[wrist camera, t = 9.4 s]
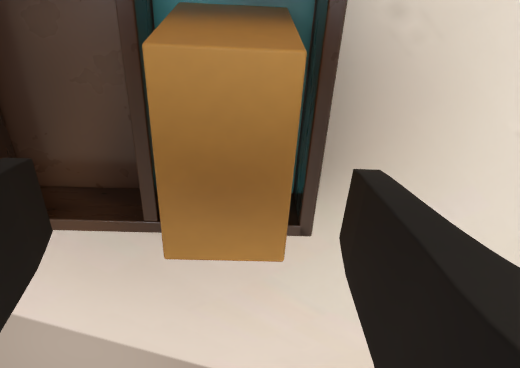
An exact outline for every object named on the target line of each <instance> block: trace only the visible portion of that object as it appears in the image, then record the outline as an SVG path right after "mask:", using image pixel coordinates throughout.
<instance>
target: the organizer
mask: <svg viewBox="0 0 520 368" xmlns="http://www.w3.org/2000/svg"><path fill="white" fill-rule="evenodd" d="M179 2H184V3H204V4H224V5H244V6H263V7H283V8H288V11H289V13H290V15H291V18H292V20H293V22H294V24H295V27H296V29H297V31H298V33H299V36H300V38H301V40H302V42H303V45H304V47H305V49H306V52H307V56H306V65H305V74H304V83H303V92H302V101H301V110H300V119H299V128H298V137H297V146H296V155H295V164H294V173H293V182H292V191H291V200H290V209H289V218H288V227H287V236H311V234H312V228H313V221H314V214H315V208H316V201H317V195H318V188H319V182H320V175H321V169H322V162H323V156H324V149H325V143H326V136H327V130H328V123H329V117H330V110H331V104H332V97H333V91H334V84H335V78H336V71H337V65H338V58H339V52H340V45H341V39H342V32H343V26H344V19H345V13H346V6H347V0H0V159H1V158H29V159H32V161H33V164H34V168H35V171H36V175H37V178H38V182H39V185H40V188H41V192H42V195H43V199H44V202H45V206H46V209H47V213H48V216H49V220H50V223H51V227H52V230H78V231H118V232H158V233H162V232H161V222H160V213H159V203H158V194H157V184H156V174H155V165H154V155H153V146H152V136H151V126H150V117H149V107H148V98H147V88H146V79H145V69H144V59H143V50H142V44H143V42H144V41H145V40H146V39H147V38H148V37H149V36H150V35H151V33H152V32H153V31H154V30H155V29H156V28H157V27H158V26H159V24H160V23H161V22H162V21H163V20H164V19H165V18H166V17H167V15H168V14H169V13H170V12H171V11H172V10H173V9H174V7H175V6H176V5H177V4H178V3H179Z"/></svg>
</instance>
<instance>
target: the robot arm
mask: <svg viewBox="0 0 520 368" xmlns="http://www.w3.org/2000/svg"><path fill="white" fill-rule="evenodd" d="M52 232H53V230H52V227H51V223H50V220H49V216H48V213H47V209H46V206H45V202H44V199H43V195H42V192H41V188H40V185H39V182H38V178H37V175H36V171H35V168H34V164H33V161H32V159H29V158H1V159H0V332H1V330H2V328H3V327H4V325H5V323H6V322H7V320H8V318H9V317H10V315H11V313H12V312H13V310H14V308H15V307H16V305H17V303H18V302H19V300H20V298H21V297H22V295H23V293H24V291H25V290H26V288H27V286H28V285H29V283H30V281H31V279H32V278H33V276H34V274H35V272H36V271H37V269H38V266H39V264H40V262H41V259H42V257H43V255H44V252H45V250H46V247H47V245H48V242H49V239H50V237H51V234H52ZM339 239H340V245H341V251H342V258H343V263H344V268H345V274H346V278H347V281H348V284H349V288H350V291H351V294H352V297H353V300H354V304H355V307H356V310H357V313H358V316H359V319H360V322H361V326H362V329H363V332H364V335H365V338H366V341H367V344H368V348H369V351H370V354H371V357H372V360H373V363H374V367H375V368H520V268H519V267H518V266H516V265H514V264H513V263H511V262H509V261H508V260H506V259H504V258H503V257H501V256H499V255H498V254H496V253H495V252H493V251H492V250H490V249H489V248H487V247H486V246H484V245H483V244H481V243H480V242H478V241H477V240H475V239H474V238H472V237H471V236H469V235H468V234H466V233H465V232H463V231H462V230H460V229H459V228H458V227H456V226H455V225H453V224H452V223H451V222H449V221H448V220H447V219H445V218H444V217H442V216H441V215H440V214H438V213H437V212H436V211H434V210H433V209H432V208H430V207H429V206H428V205H426V204H425V203H424V202H423V201H421V200H420V199H419V198H417V197H416V196H415V195H413V194H412V193H411V192H410V191H408V190H407V189H406V188H404V187H403V186H402V185H400V184H399V183H398V182H397V181H395V180H394V179H392V178H391V177H390V176H388V175H387V174H385V173H384V172H382V171H381V170H366V169H353V174H352V179H351V184H350V189H349V194H348V198H347V203H346V208H345V213H344V218H343V223H342V228H341V232H340V237H339Z"/></svg>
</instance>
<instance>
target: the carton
mask: <svg viewBox="0 0 520 368" xmlns="http://www.w3.org/2000/svg"><path fill="white" fill-rule="evenodd" d="M142 50H143V59H144V69H145V79H146V88H147V98H148V107H149V117H150V126H151V136H152V146H153V155H154V165H155V174H156V184H157V194H158V203H159V213H160V222H161V232H162V242H163V251H164V258H165V259H186V260H232V261H277V262H282V261H283V260H284V254H285V245H286V236H287V227H288V218H289V209H290V200H291V191H292V182H293V173H294V164H295V155H296V146H297V137H298V128H299V119H300V110H301V101H302V92H303V83H304V74H305V65H306V56H307V52H306V49H305V47H304V45H303V42H302V40H301V38H300V36H299V33H298V31H297V29H296V27H295V24H294V22H293V20H292V18H291V15H290V13H289V11H288V8H283V7H263V6H244V5H224V4H204V3H184V2H179V3H178V4H177V5H176V6H175V7H174V9H173V10H172V11H171V12H170V13H169V14H168V15H167V17H166V18H165V19H164V20H163V21H162V22H161V23H160V24H159V26H158V27H157V28H156V29H155V30H154V31H153V32H152V33H151V35H150V36H149V37H148V38H147V39H146V40H145V41H144V42H143V44H142Z"/></svg>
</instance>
